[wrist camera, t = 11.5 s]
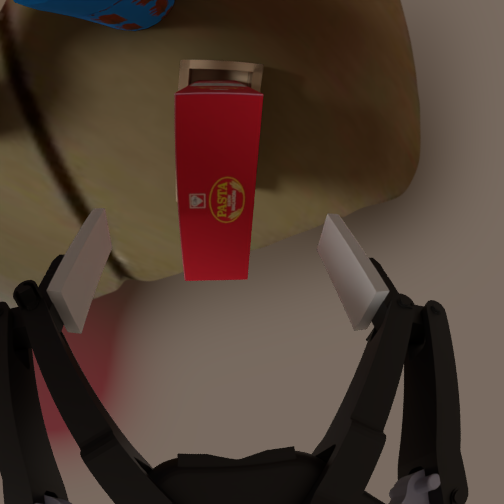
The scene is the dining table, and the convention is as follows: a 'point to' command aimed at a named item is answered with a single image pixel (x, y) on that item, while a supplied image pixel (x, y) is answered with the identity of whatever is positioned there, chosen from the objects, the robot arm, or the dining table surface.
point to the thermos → (108, 11)
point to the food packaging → (216, 176)
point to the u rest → (220, 73)
